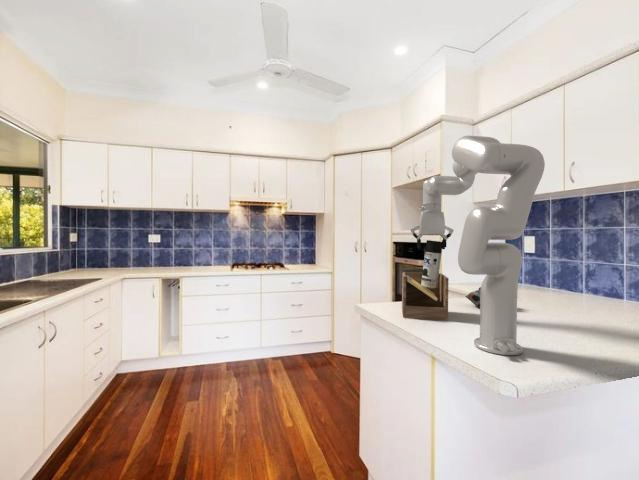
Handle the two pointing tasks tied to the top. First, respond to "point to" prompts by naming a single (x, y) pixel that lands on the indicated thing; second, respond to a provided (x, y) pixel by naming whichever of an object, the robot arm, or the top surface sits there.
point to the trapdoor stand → (424, 299)
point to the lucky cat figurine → (475, 297)
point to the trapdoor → (421, 287)
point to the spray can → (431, 264)
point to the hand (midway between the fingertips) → (431, 248)
